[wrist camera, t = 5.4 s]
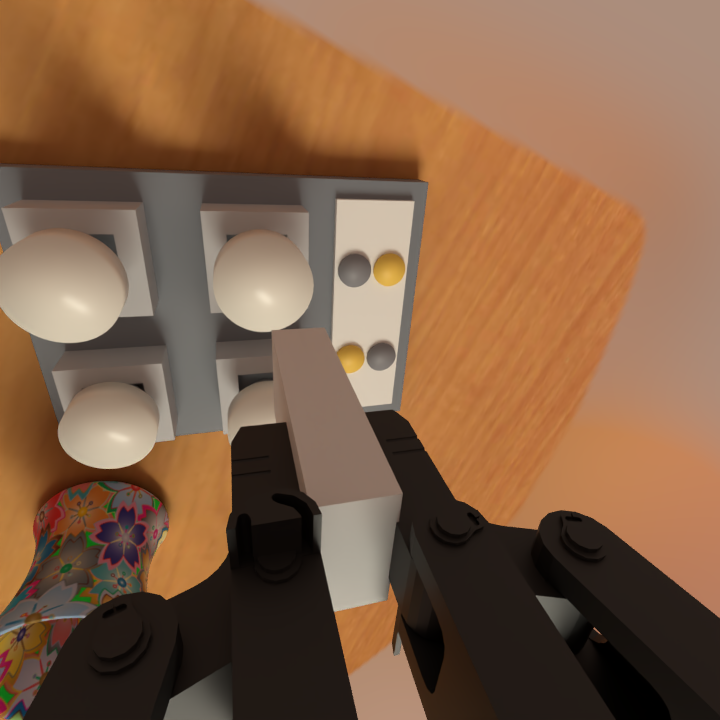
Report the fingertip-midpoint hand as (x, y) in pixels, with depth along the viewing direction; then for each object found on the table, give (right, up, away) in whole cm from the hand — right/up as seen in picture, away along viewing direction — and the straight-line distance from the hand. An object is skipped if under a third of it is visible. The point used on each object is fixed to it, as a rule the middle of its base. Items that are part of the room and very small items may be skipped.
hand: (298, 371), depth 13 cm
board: (-6, +3, +15) cm, 16 cm away
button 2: (-11, +5, +8) cm, 15 cm away
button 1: (-12, -2, +13) cm, 18 cm away
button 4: (-3, +5, +10) cm, 12 cm away
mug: (-17, -12, +20) cm, 29 cm away
